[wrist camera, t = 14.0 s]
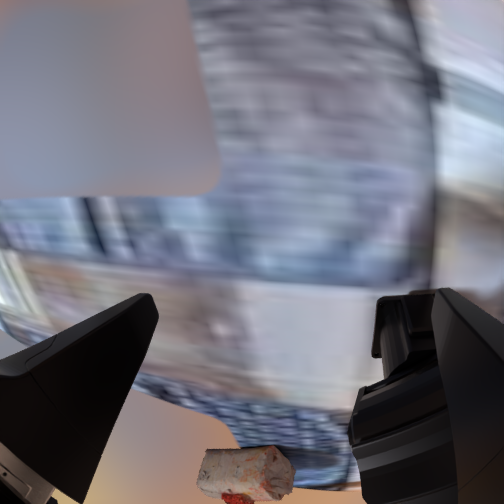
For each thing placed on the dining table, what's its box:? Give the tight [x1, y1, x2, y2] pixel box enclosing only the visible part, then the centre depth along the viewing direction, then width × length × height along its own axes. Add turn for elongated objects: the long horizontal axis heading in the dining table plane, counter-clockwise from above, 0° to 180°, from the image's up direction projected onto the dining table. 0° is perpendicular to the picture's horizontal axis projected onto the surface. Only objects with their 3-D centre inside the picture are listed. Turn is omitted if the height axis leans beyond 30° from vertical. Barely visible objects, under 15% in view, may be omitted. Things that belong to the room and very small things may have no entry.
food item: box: [197, 445, 296, 504], centre depth 35 cm, size 14×8×10 cm, turn 123°
